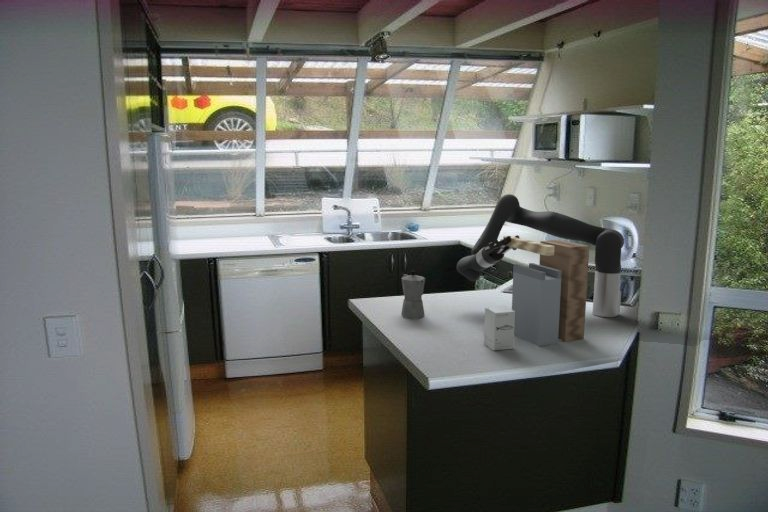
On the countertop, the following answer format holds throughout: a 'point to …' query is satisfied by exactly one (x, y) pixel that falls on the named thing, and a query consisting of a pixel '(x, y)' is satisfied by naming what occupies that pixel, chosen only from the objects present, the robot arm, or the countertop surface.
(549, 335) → the slate grooved rack
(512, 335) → the supplement box
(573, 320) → the walnut pedestal
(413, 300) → the coffeepot
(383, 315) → the countertop surface
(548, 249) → the birch bar
